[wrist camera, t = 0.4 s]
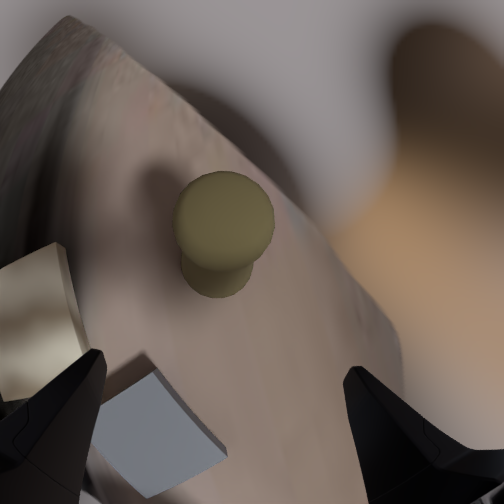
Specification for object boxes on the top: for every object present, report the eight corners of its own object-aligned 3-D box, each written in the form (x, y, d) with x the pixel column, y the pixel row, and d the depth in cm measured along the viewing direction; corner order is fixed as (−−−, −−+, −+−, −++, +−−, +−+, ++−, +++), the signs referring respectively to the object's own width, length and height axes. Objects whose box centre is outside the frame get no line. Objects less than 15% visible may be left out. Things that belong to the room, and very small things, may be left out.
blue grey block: (225, 444, 19) (227, 457, 17) (150, 485, 16) (146, 498, 14) (158, 367, 20) (152, 371, 18) (86, 413, 18) (75, 421, 15)
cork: (267, 262, 23) (315, 210, 13) (217, 313, 22) (227, 303, 11) (217, 214, 24) (226, 133, 13) (166, 261, 22) (133, 206, 12)
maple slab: (102, 378, 18) (93, 382, 17) (14, 398, 16) (4, 401, 14) (65, 248, 21) (55, 241, 19) (-13, 286, 18) (-24, 282, 16)
